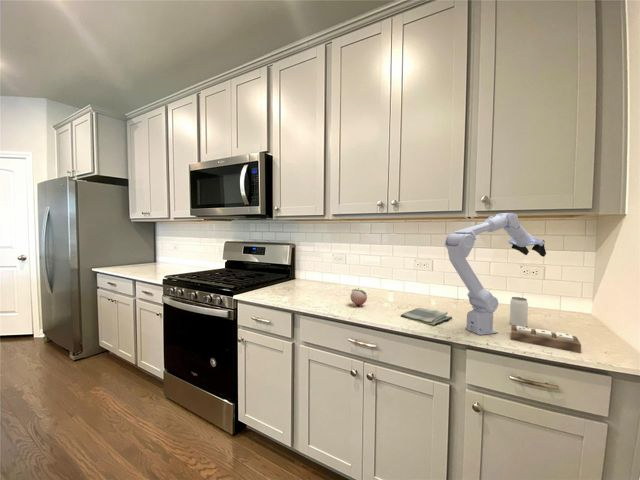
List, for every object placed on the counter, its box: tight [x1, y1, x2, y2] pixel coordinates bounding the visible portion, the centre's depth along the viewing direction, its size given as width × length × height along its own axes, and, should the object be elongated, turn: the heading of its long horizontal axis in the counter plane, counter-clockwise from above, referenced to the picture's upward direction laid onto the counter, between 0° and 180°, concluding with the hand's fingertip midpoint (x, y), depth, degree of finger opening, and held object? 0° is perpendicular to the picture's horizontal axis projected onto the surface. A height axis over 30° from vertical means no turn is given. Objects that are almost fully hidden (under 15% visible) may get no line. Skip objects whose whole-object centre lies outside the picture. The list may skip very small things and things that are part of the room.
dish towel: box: [400, 307, 453, 327], centre depth 135 cm, size 19×18×3 cm
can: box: [509, 296, 529, 327], centre depth 125 cm, size 6×6×12 cm
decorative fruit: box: [350, 287, 368, 307], centre depth 154 cm, size 9×8×10 cm
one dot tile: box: [535, 328, 552, 338], centre depth 106 cm, size 5×5×3 cm
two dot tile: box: [554, 331, 574, 341], centre depth 103 cm, size 5×5×3 cm
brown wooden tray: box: [510, 325, 582, 353], centre depth 106 cm, size 20×9×3 cm, turn 55°
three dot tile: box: [516, 326, 532, 334], centre depth 110 cm, size 5×5×3 cm
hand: (535, 254), depth 124 cm, fingers open, 7 cm apart
